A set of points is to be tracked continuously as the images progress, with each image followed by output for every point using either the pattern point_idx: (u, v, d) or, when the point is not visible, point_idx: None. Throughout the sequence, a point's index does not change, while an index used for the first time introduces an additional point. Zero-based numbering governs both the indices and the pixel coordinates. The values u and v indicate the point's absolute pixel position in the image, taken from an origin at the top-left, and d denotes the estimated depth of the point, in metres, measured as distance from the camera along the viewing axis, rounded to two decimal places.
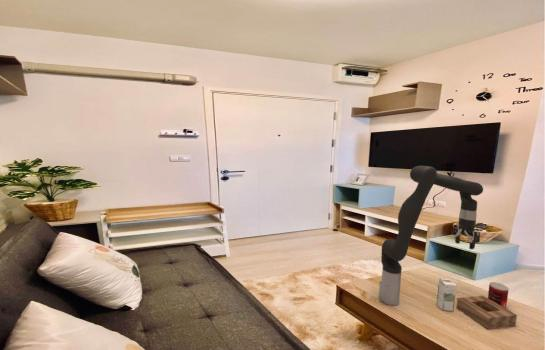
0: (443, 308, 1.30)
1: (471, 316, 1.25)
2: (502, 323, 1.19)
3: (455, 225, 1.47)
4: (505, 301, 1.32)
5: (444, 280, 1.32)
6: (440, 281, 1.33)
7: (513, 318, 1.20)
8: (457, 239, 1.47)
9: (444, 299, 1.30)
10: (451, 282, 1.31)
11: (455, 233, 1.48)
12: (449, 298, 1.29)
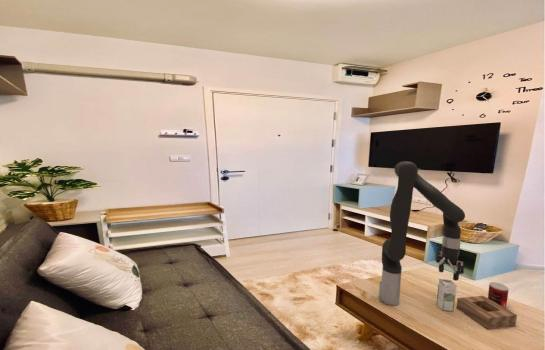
0: (443, 308, 1.30)
1: (471, 316, 1.25)
2: (502, 323, 1.19)
3: (438, 252, 1.36)
4: (505, 301, 1.32)
5: (444, 280, 1.32)
6: (440, 281, 1.33)
7: (513, 318, 1.20)
8: (441, 268, 1.35)
9: (444, 299, 1.30)
10: (451, 282, 1.31)
11: (438, 261, 1.36)
12: (449, 298, 1.29)
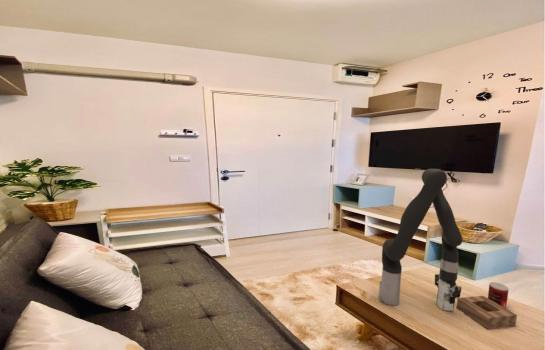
0: (443, 308, 1.30)
1: (471, 316, 1.25)
2: (502, 323, 1.19)
3: (436, 275, 1.37)
4: (505, 301, 1.32)
5: None
6: (440, 281, 1.33)
7: (513, 318, 1.20)
8: None
9: (444, 299, 1.30)
10: None
11: (437, 284, 1.37)
12: (449, 298, 1.29)
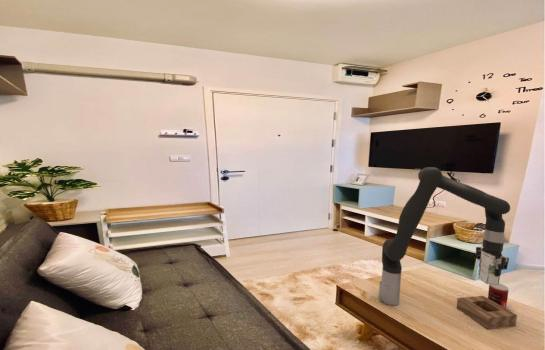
0: (487, 281, 1.22)
1: (471, 316, 1.25)
2: (502, 323, 1.19)
3: (478, 247, 1.29)
4: (505, 301, 1.32)
5: None
6: (483, 253, 1.25)
7: (513, 318, 1.20)
8: None
9: (489, 271, 1.22)
10: None
11: (479, 257, 1.29)
12: (494, 271, 1.21)
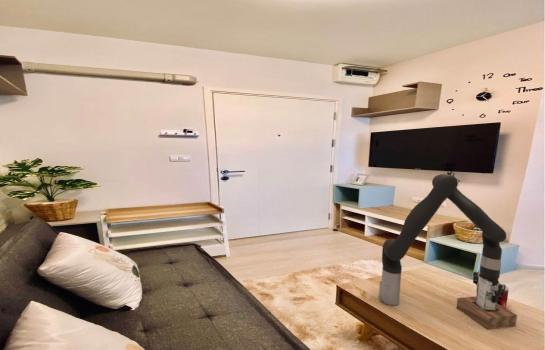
0: (484, 307, 1.24)
1: (471, 316, 1.25)
2: (502, 323, 1.19)
3: (475, 272, 1.30)
4: (505, 301, 1.32)
5: None
6: (480, 279, 1.26)
7: (513, 318, 1.20)
8: None
9: (486, 297, 1.23)
10: None
11: (476, 282, 1.30)
12: (491, 297, 1.23)
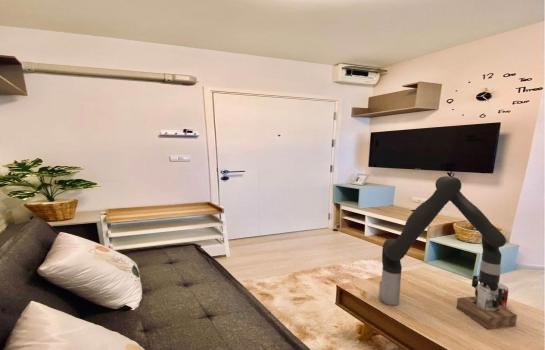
0: None
1: (471, 316, 1.25)
2: (502, 323, 1.19)
3: (475, 276, 1.30)
4: (505, 301, 1.32)
5: (484, 286, 1.26)
6: (480, 287, 1.26)
7: (513, 318, 1.20)
8: None
9: (486, 305, 1.23)
10: None
11: (475, 285, 1.31)
12: (490, 305, 1.23)
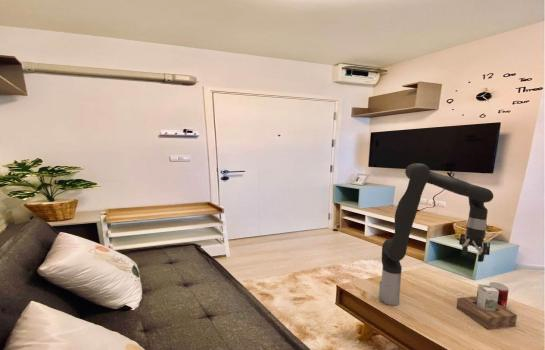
0: None
1: (471, 316, 1.25)
2: (502, 323, 1.19)
3: (462, 234, 1.34)
4: (505, 301, 1.32)
5: (484, 286, 1.26)
6: (480, 287, 1.26)
7: (513, 318, 1.20)
8: (464, 250, 1.34)
9: (486, 305, 1.23)
10: (492, 288, 1.24)
11: (462, 243, 1.35)
12: (490, 305, 1.23)
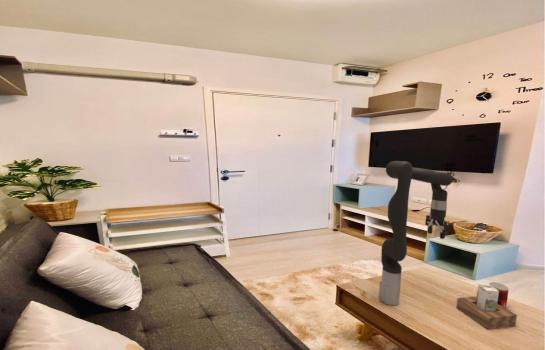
0: None
1: (471, 316, 1.25)
2: (502, 323, 1.19)
3: (427, 215, 1.49)
4: (505, 301, 1.32)
5: (484, 286, 1.26)
6: (480, 287, 1.26)
7: (513, 318, 1.20)
8: (429, 229, 1.49)
9: (486, 305, 1.23)
10: (492, 288, 1.24)
11: (428, 223, 1.50)
12: (490, 305, 1.23)
